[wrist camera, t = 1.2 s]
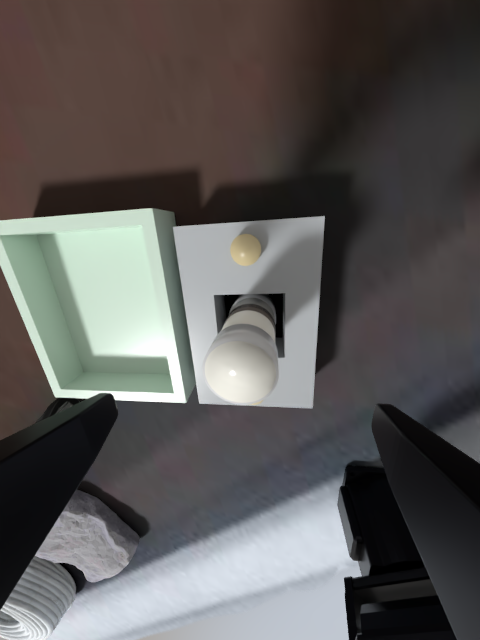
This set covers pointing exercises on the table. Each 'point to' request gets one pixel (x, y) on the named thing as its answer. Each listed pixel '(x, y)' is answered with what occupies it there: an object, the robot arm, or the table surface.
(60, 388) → the tray
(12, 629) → the cable
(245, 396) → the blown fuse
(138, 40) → the table surface
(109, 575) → the stone block
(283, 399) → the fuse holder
